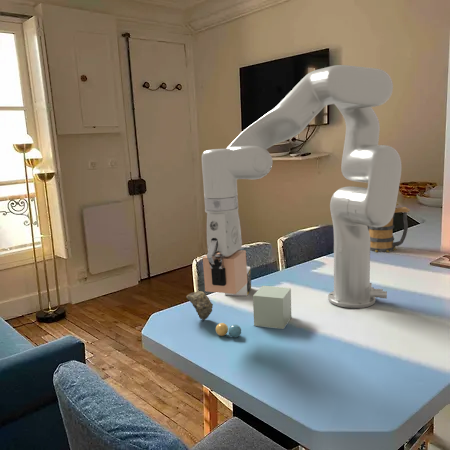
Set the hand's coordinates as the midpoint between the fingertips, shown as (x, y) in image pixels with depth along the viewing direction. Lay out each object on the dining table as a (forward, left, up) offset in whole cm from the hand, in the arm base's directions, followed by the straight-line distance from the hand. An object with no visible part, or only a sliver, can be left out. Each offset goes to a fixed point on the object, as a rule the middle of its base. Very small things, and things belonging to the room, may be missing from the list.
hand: (226, 278), depth 103 cm
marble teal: (-1, 0, -14) cm, 14 cm away
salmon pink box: (0, 0, -2) cm, 2 cm away
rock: (+10, -6, -14) cm, 18 cm away
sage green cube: (-8, -11, -14) cm, 19 cm away
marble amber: (+2, 0, -14) cm, 14 cm away
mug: (-31, -89, -14) cm, 95 cm away
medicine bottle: (+9, -29, -14) cm, 34 cm away
